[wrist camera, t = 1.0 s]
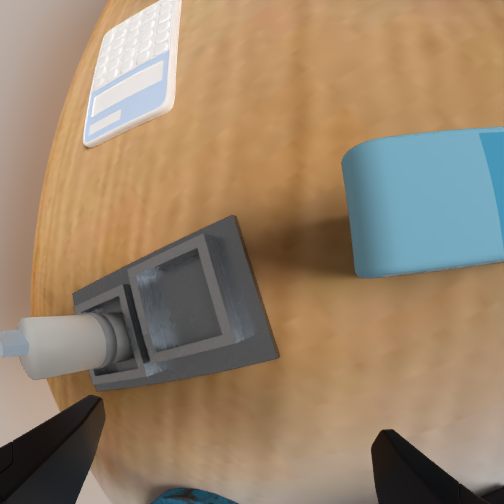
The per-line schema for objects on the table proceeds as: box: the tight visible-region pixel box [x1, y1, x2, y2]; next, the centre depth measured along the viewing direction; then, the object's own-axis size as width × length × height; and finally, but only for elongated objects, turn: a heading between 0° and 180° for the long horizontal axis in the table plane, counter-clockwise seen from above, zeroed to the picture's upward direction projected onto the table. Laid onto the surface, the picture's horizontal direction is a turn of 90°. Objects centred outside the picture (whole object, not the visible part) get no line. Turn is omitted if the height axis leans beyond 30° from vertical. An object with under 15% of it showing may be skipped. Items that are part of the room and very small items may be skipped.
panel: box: [73, 215, 280, 391], centre depth 26 cm, size 11×21×2 cm, turn 108°
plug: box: [0, 312, 133, 380], centre depth 22 cm, size 5×5×12 cm
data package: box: [341, 127, 504, 278], centre depth 13 cm, size 12×4×12 cm, turn 94°
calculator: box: [83, 0, 182, 148], centre depth 32 cm, size 13×20×2 cm, turn 5°
